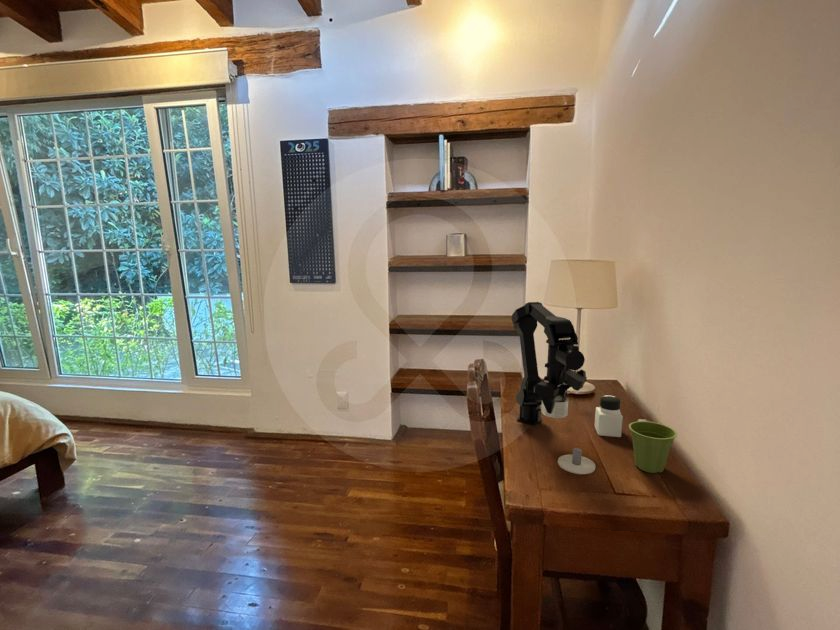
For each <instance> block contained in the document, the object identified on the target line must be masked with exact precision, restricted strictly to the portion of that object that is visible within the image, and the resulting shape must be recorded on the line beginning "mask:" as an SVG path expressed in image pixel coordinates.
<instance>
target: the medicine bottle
mask: <svg viewBox="0 0 840 630" xmlns="http://www.w3.org/2000/svg"><path fill="white" fill-rule="evenodd" d="M620 407H621V400H620V398H618V397H617V396H614V395H602V396H601V397H600V399H599V406H596V407H595V415H594V428H595V430H596V433H597V435H598V436H603V437H613V438H621V437H622V435H623V434H622V433H623V421H624V416H623V415H622V413H621V411H620V409H621V408H620Z"/></svg>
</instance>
